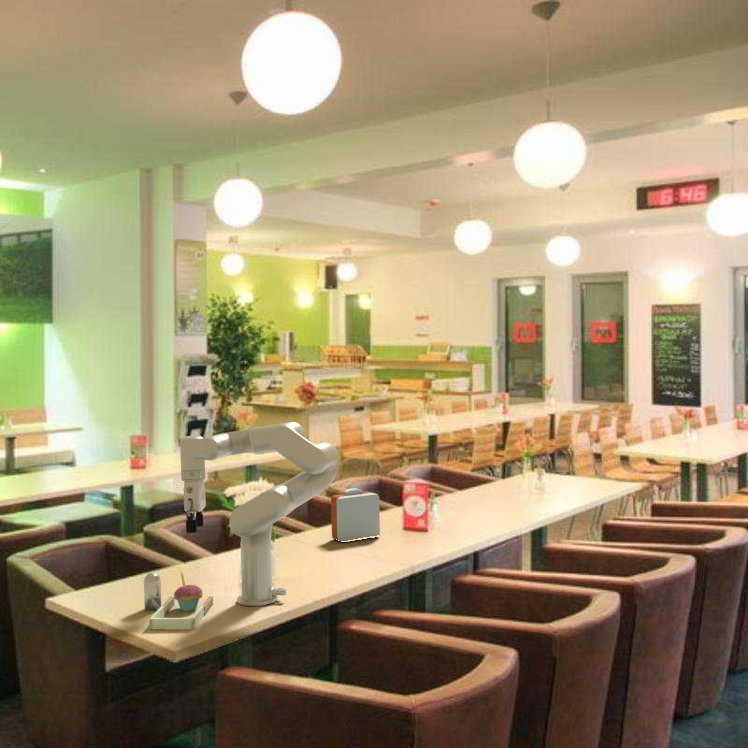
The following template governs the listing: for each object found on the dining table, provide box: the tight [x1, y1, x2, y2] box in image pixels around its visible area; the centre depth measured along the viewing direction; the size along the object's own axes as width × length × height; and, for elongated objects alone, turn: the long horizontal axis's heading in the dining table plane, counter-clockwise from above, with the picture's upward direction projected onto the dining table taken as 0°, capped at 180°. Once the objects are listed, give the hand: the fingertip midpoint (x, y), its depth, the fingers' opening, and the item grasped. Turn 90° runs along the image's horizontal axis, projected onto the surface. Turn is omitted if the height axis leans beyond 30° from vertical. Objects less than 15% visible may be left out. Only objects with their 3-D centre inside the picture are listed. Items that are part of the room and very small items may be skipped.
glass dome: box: [143, 572, 162, 612], centre depth 254 cm, size 5×5×11 cm
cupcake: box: [173, 570, 204, 612], centre depth 254 cm, size 9×8×12 cm
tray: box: [148, 604, 205, 630], centre depth 241 cm, size 13×12×3 cm
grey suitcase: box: [330, 487, 381, 542], centre depth 341 cm, size 18×9×21 cm, turn 120°
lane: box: [161, 595, 214, 617], centre depth 253 cm, size 13×11×2 cm
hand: (195, 529), depth 264 cm, fingers open, 8 cm apart
